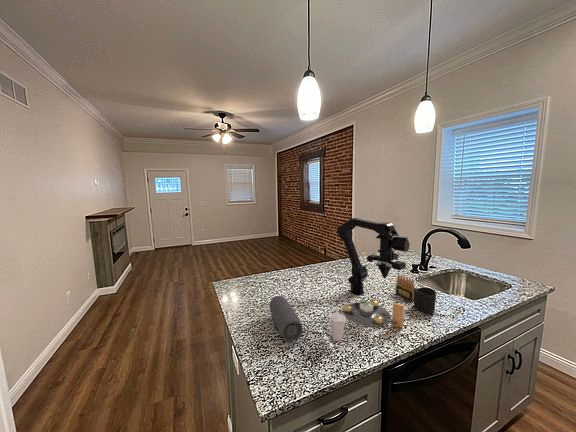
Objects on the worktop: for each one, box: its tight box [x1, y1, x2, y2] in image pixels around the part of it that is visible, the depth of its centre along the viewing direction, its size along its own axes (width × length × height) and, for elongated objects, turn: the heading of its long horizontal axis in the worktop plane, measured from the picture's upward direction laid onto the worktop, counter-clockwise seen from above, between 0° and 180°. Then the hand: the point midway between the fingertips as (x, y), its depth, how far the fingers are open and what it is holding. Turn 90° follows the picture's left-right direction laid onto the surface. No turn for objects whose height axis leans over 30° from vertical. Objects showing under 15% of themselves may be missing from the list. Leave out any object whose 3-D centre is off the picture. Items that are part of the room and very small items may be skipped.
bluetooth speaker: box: [269, 295, 304, 342], centre depth 104 cm, size 23×9×10 cm, turn 17°
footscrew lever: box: [373, 302, 405, 329], centre depth 103 cm, size 12×4×10 cm, turn 65°
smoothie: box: [329, 305, 347, 342], centre depth 95 cm, size 6×6×14 cm
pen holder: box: [412, 286, 437, 316], centre depth 117 cm, size 9×9×10 cm
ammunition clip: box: [395, 272, 415, 302], centre depth 131 cm, size 11×2×12 cm, turn 23°
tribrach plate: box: [342, 299, 392, 327], centre depth 113 cm, size 21×21×6 cm
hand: (384, 278), depth 125 cm, fingers closed
